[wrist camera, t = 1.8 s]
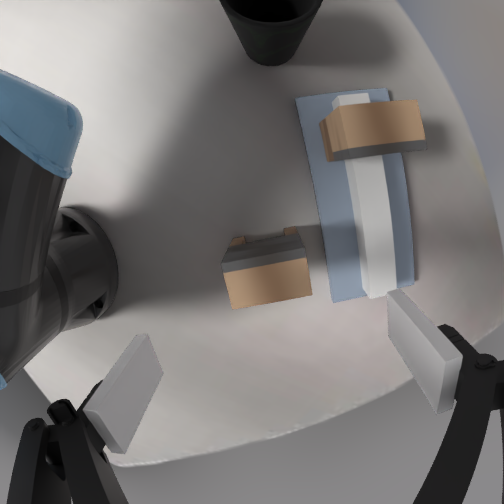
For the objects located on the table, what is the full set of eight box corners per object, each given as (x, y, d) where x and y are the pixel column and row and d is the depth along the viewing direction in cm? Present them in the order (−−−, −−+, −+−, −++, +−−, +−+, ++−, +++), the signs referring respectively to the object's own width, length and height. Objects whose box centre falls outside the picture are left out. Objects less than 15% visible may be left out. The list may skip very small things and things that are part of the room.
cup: (254, 86, 29) (247, 42, 17) (221, 32, 27) (199, -25, 16) (319, 58, 28) (344, 7, 16) (284, 6, 26) (290, -56, 14)
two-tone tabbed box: (241, 273, 34) (232, 309, 25) (233, 238, 33) (220, 263, 24) (301, 262, 33) (312, 294, 25) (294, 226, 32) (304, 247, 24)
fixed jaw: (379, 115, 28) (416, 99, 19) (386, 153, 29) (427, 149, 20) (318, 123, 29) (338, 105, 20) (327, 161, 29) (350, 159, 21)
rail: (331, 299, 34) (338, 315, 30) (294, 99, 29) (298, 90, 25) (411, 281, 33) (425, 293, 29) (383, 90, 28) (397, 81, 24)
